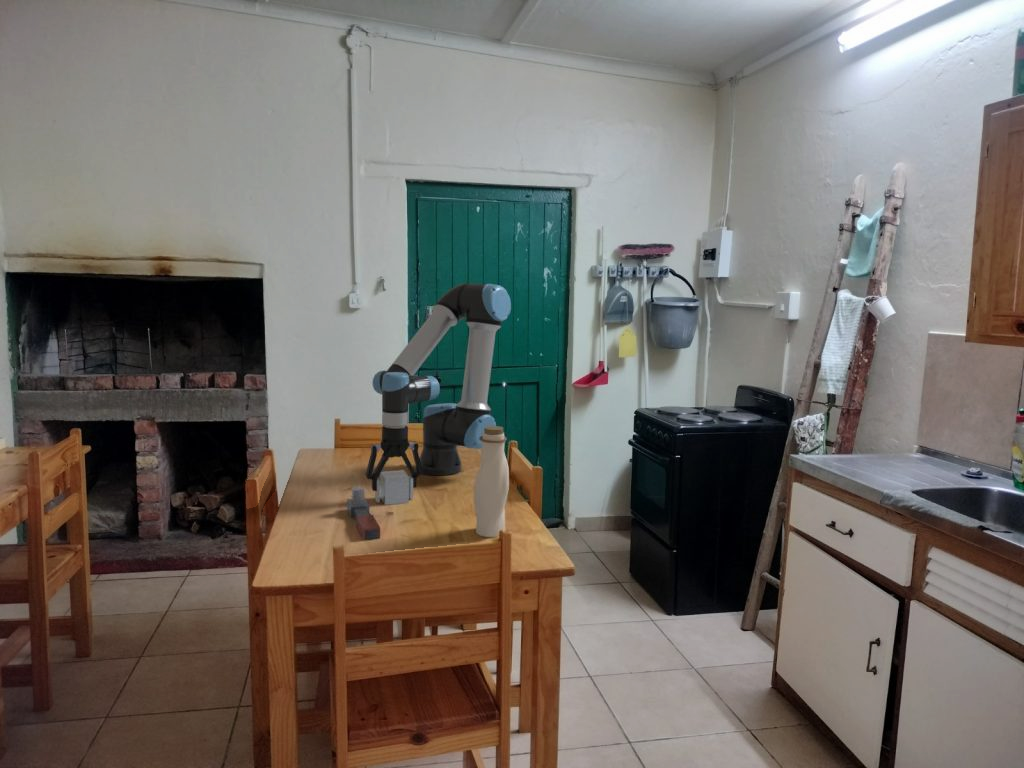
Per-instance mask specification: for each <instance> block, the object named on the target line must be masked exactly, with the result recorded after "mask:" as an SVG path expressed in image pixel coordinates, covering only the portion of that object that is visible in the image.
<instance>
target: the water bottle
mask: <svg viewBox="0 0 1024 768" xmlns="http://www.w3.org/2000/svg"><path fill="white" fill-rule="evenodd" d="M482 438H483V439H482ZM479 439H480V440H481V441H482V449H480V467H479V470H478V471H477V472H476V477H475V479H474V480H475V481H474V487H473V488H474V490H473V505H474V512H475V516H476V526H475V534H477V535H478V536H480V537H484V538H498V537H499V536H498V533H499V531H500V530H503V531H505V532H506V510H505V506H506V503H507V499H508V494H509V489H510V470H509V469H510V468H509V464H508V460H507V457H506V453H505V446H506V445H505V444H506V442H507V440H508V439H507V436H505V432H504V427H503V426H499V425H496V426H486V427H484V432H483V436H481V437H480V438H479Z"/></svg>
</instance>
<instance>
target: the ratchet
mask: <svg viewBox="0 0 1024 768" xmlns="http://www.w3.org/2000/svg"><path fill="white" fill-rule="evenodd" d="M350 497H351V498H347V499H346V511H347V512H348V515H349V517H350V518H351V519H352V518H353V519H354V521H355V523H356V528H357V530H358V532H359V534H360V536H361V538H362V540H363V541H367V540H378V539H381V527H380V525H379V523H378V521H377V520H376V517H375V516H374V514H371V513H370V504H369V502H368V500H367V499H366V497H365V488H364V487H363V486H355V487H354V486H353V487H351V495H350Z"/></svg>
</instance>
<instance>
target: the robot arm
mask: <svg viewBox="0 0 1024 768" xmlns="http://www.w3.org/2000/svg"><path fill="white" fill-rule="evenodd" d="M511 310H512V304H511V297H510V295H509V294H508V291H507V289H505V287H503V286H501V285H498V284H493V283H470V282H467V283H466V282H465V283H461V284H458V285H456V286H454V287H452V288H450V289H449V290H448V291H447V292H446V293H444V294H443V295H442V296H441V297H440V298H439V299H438V300H437V301H436V303H435V304H434V305H433V307H432V313H431V314H430V315H429V316H428V318H427V319H426V320H425V322H424V323H422V325H421V327H420V328H419V329H418V331H417V332H416V333H415V334H414V336H413V337H412V338H411V339H410V340H409V342H408V343H407V345H406V346H405V347H404V349H403V350H402V351H400V353H399V355H398V356H397V357H396V358H395V359H394V361H393V362H392V363H391V365H390V366H389V368H388V369H387V370H380V371H377V372H376V373H375V374H374V376H373V378H372V387H373V389H374V391H375V392H376V393H377V394H379V395H381V397H382V398H381V408H382V411H381V412H382V414H381V424H382V426H381V442H380V443H379V444H374V443H372V444H371V445H370V451H371V453H370V455H369V459H368V463H367V468H366V471H365V477H366V479H368V480H371V490H372V491H373V492H375V493H374V497H375V499H374V500H375V502H376V503H380V502H381V501H380V500H381V498H380V479H379V477H380V473H381V472H383V469H384V467H385V465H386V463H387V461H389V459H390V458H402V460H403V462H404V464H405V466H406V467H407V469H408V471H409V473H410V475H408V476H409V500H414V488H415V489H416V487H417V479H418V477H419V476H422V475H423V474H424V475H429V476H450V475H454V474H457V473H460V472H462V466H463V465H462V460H461V458H460V454H459V451H458V446H461V447H465V448H468V449H475V450H481V449H482V441H481V440H480V439H479V438H480V437H481V436H483V432H484V427H486V426H497V424H496V420H495V418H494V417H493V416H492V415H491V410H492V409H491V407H490V406H489V404H488V400H489V399H488V397H489V391H490V390H489V389H490V383H491V382H490V381H491V373H492V372H491V371H492V364H493V356H494V348H495V342H496V341H495V340H496V333H497V331H498V330H499V329H501V328H502V322H503V321H505V320H507V318H508V317H509V316H510V313H511ZM463 319H466V320H465V322H466V324H467V326H468V328H469V332H468V333H469V334H468V341H467V351H466V358H465V365H464V366H465V367H464V376H463V381H462V383H463V384H462V390H461V399H460V401H459V402H458V403H455V402H449V403H448V402H447V403H436V404H429V405H426V407H424V409H423V417H422V439H423V440H422V442H423V444H422V450H421V453H420V455H419V447H420V446H419V443H417V442H416V441H413V442H409V427H408V424H409V404H414V403H415V404H416V403H420V402H421V403H423V402H429V401H432V400H435V399H436V398H437V397H439V394H440V389H441V388H440V387H441V386H440V383H439V381H438V379H437V378H436V377H435V376H432V375H423V376H417V375H416V373H417V371H418V370H419V369H420V367H422V365H423V363H424V362H425V361H426V359H427V358H428V357H429V356H430V355H431V353H432V352H433V351H434V349H435V348H436V346H437V345H438V344H439V342H441V340H442V339H443V337H444V336H445V335H446V333H447V332H448V331H449V330H450V328H451V327H455V326H456V325H457V324H458V323H459V321H461V320H463ZM482 439H483V438H482ZM409 448H410V450H411V452H412V456H413V460H414V465H415V468H416V470H415V468H414V467H413V465H412V463H411V461H410V460H409V457H408V456H407V453H406V451H407V450H408V449H409ZM380 450H382V451H383V453H382V455H381V457H380V460H379V461H378V463H377V465H376V467H375V464H376V459H377V457H378V455H377V454H378V453H379V452H380ZM374 467H375V469H374Z"/></svg>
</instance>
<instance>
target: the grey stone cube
mask: <svg viewBox="0 0 1024 768" xmlns="http://www.w3.org/2000/svg"><path fill="white" fill-rule="evenodd" d="M409 476H410V475H408V473H407V472H406V471H405V470H404V469H402V470H401V469H399V470H386V471H385V470H384V471H381V473H380V475H379V477H380V479H379V480H380V500H381V502H382V503H383V504H384V506H388V505H399V504H409V502H410V501H409V500H410V498H409Z"/></svg>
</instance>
